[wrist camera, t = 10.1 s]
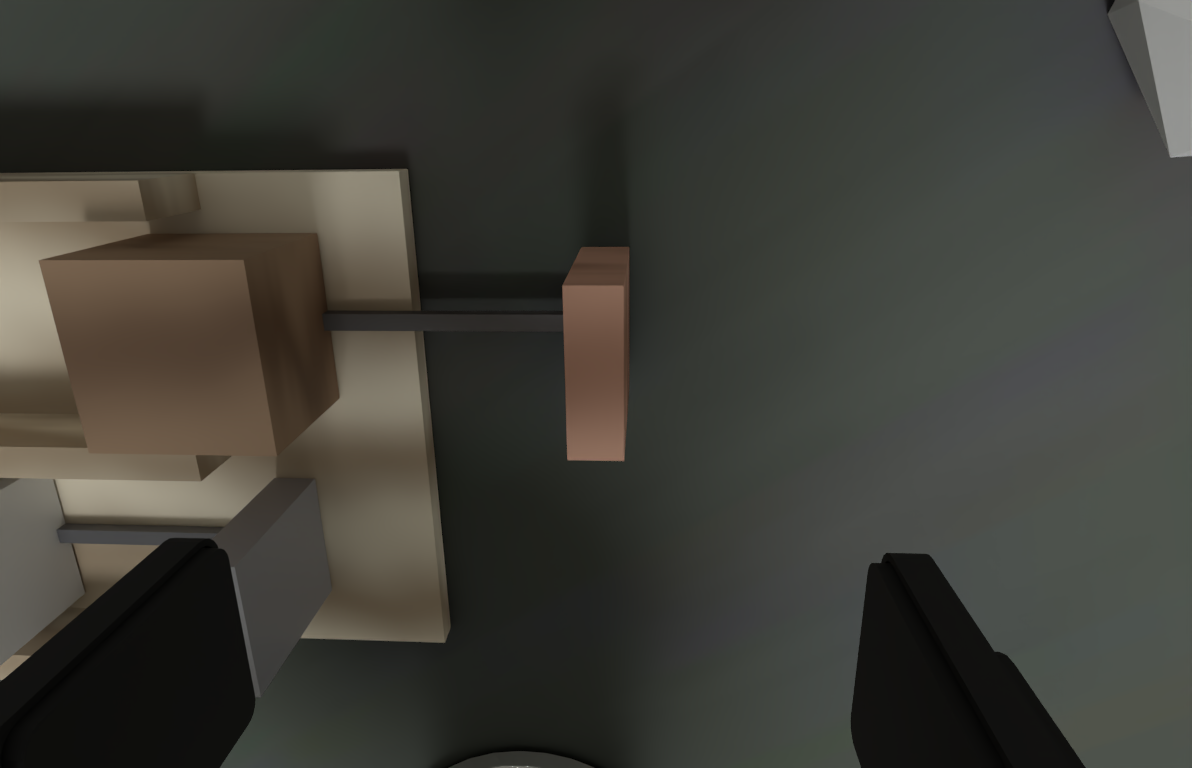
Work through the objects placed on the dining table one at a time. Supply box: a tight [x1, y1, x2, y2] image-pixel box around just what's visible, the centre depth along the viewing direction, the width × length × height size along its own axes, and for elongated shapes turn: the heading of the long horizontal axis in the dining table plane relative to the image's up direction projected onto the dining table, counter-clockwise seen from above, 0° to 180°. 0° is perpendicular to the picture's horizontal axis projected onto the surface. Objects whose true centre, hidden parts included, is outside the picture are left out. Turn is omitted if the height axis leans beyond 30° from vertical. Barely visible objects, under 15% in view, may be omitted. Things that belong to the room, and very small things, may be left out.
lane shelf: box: [0, 169, 451, 680], centre depth 28 cm, size 19×23×4 cm
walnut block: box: [38, 233, 629, 461], centre depth 24 cm, size 6×17×6 cm, turn 91°
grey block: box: [0, 478, 332, 697], centre depth 28 cm, size 6×17×6 cm, turn 91°
